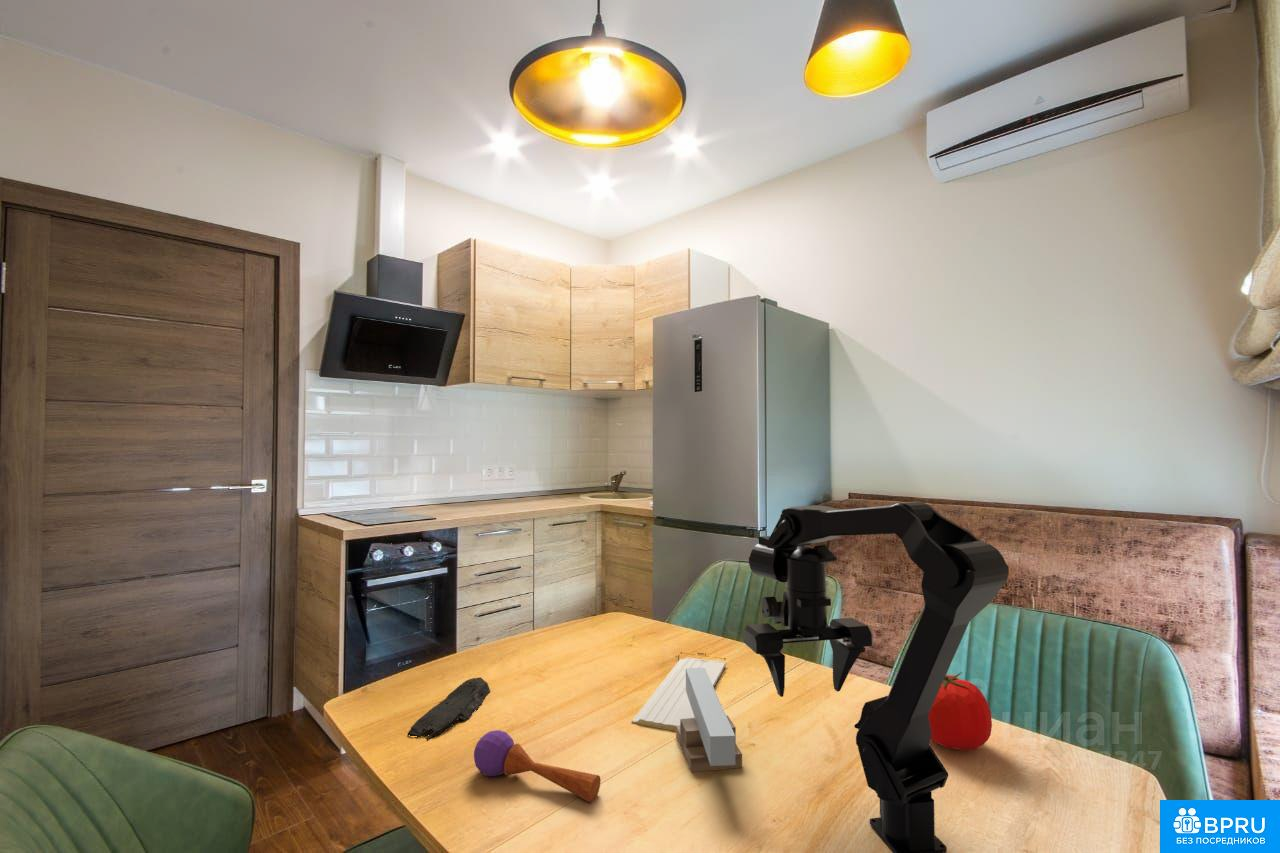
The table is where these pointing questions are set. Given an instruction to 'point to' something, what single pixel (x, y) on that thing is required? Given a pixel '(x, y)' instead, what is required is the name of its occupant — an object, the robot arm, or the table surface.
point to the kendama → (529, 765)
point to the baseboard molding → (675, 695)
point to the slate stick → (710, 718)
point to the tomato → (960, 715)
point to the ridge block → (700, 747)
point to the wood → (452, 708)
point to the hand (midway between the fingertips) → (809, 693)
